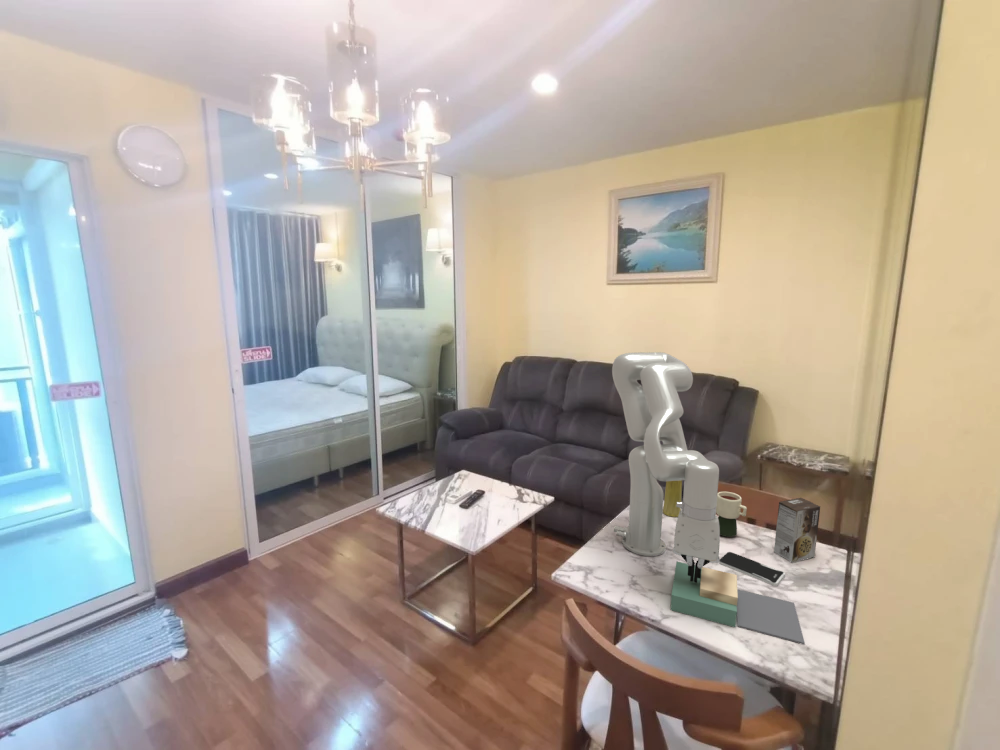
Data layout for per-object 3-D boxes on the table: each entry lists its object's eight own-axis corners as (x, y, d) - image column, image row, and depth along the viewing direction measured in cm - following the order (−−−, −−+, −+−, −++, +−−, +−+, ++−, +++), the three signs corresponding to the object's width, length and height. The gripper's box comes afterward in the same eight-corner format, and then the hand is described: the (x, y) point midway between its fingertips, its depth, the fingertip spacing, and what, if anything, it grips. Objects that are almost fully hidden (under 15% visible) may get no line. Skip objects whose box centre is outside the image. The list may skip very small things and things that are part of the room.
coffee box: (795, 546, 140) (801, 497, 137) (815, 557, 134) (821, 506, 131) (772, 551, 137) (778, 500, 134) (792, 563, 131) (798, 510, 128)
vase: (659, 509, 164) (662, 471, 162) (676, 509, 165) (678, 471, 163) (667, 517, 158) (670, 478, 156) (684, 517, 159) (687, 477, 157)
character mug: (748, 536, 146) (751, 498, 144) (738, 544, 141) (742, 504, 139) (713, 524, 154) (716, 487, 152) (703, 531, 149) (707, 493, 147)
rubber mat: (737, 626, 105) (737, 625, 105) (735, 590, 118) (735, 588, 118) (804, 644, 100) (804, 642, 100) (793, 604, 113) (794, 602, 113)
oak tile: (699, 595, 110) (700, 588, 109) (701, 573, 119) (702, 566, 118) (736, 605, 106) (737, 597, 106) (735, 582, 115) (736, 574, 115)
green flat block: (670, 609, 111) (671, 594, 110) (675, 574, 125) (676, 561, 124) (735, 627, 105) (736, 611, 104) (732, 588, 119) (734, 574, 119)
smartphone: (728, 551, 136) (786, 572, 125) (728, 555, 136) (785, 577, 125) (718, 560, 131) (776, 584, 120) (717, 565, 131) (776, 588, 120)
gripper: (665, 510, 112) (660, 579, 115) (733, 522, 106) (727, 595, 108) (668, 498, 119) (664, 564, 121) (732, 510, 112) (726, 579, 115)
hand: (693, 579), depth 115 cm, fingers closed
